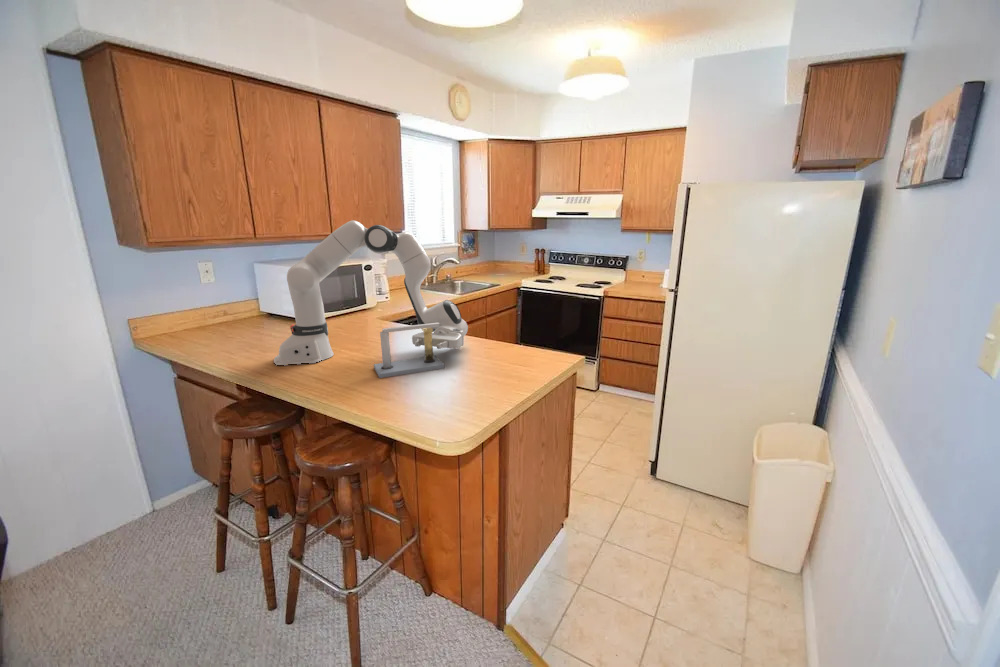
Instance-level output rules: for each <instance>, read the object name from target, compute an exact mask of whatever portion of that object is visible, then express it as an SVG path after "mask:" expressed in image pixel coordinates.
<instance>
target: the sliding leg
mask: <svg viewBox="0 0 1000 667" xmlns="http://www.w3.org/2000/svg"><path fill="white" fill-rule="evenodd" d="M421 330H422V332H424V345H425V346H424V345H423V346H424V357H425V359H426V360H432V359H433V356H434V350H433V349H434V348H433V347H434V346H432V333H434V332H433V329H432V328H422V329H421Z"/></svg>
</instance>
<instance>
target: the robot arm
mask: <svg viewBox="0 0 1000 667" xmlns="http://www.w3.org/2000/svg"><path fill="white" fill-rule="evenodd" d="M364 247H365V248H366V247H367V248H368V249H369V250H370V251H371V252H373V253H375V254H378V255H385V254H388V253H389V252H391V253H393V254H395V256H396V257H397V258H398V260H399V263H400V264H401V265H402V268H403V271H404V280H403V283H404V287H405V289H406V293H407V296H408V298H409V301H410V303H411V305H412V308H413V311H414V313H415V317H416V320H417V325H421V324H430V323H439V324H440V326H439V327H431V328H432V329H433V332H432V346H433V347H436V349H438V350H441V349H460V348H461V347H463V346H464V342H465V341H464V337H465V336H466V335H467V333H468V330H469V326H468V323H467V321H465V320H464V319H463V318H462V314H461V311H460V308H459V307H458V305H457V304H456V303H455V302H453V301H451V300H448V299H445V300H443V301H441V302H438V303H436V304H435V305H433V306H431V307H427V305H426V302H425V300H424V298H423V295H422V292H421V285H422V283H423V282H424V280H425V279H426V278H427V276H428V275H429V273H430V271H431V266H432V264H431V260H430V257H429V256H428V254H427V252H426V250H425V249H424V247H423V246H422V244H421V242H420V241H419V240H418V238H417V237H416V236H415V234H413V232H410V231H402V232H400V233H396V232H394V231H393V230H391V229H390V228H388V227H387V226H384V225H382V224H373V225H371V226H370V227H369V228H367V227H365V226H364V224H362V223H361V222H359V221H357V220H349V221H347V222H345V223H344V224H342V225H341V226H339V227H337V228H336V229H335V230H334V231H332V233H330V234H329V235H328V236H327V237H325V239H323V240H322V241H321V242H319V244H317V245H316V246H315V247H314V248H313V249H312V250H310V251H309V252H308V253H307V254H306V255H305V256H303V258H302V259H301V260H299V261H298V262H297V263H295V264H293V265H292V266H291V267H290V268H289V269H288V271H287V273H286V281H287V285H288V290H289V293H290V299H291V301H292V305H293V311H294V318H295V324H294V323H293V324H290V326H289V328H290V331H291V332H290V333H291V335H290V336H289V337H288V338H286V339H285V340H284V341H283V342H282V343H281V344H280V346H279V349H278V355H276V356H275V357H274V358H273V363H275V364H276V365H275V364H274V365H275V366H277V365H284V366H288V365H287V364H297V365H302V364H301V363H309V364H317V363H316V362H318V363H320V362H322V361H324V360H327V359H329V358H331V357H333V356H334V354H335V353H334V352H333V349H332V347H331V344H330V339H329V329H328V327H329V326H328V323H327V321H326V315H325V306H324V301H323V297H322V293H321V292H322V291H321V287H320V286H321V285H320V283H321V282H322V281H323V280H325V278H327V277H328V276H329V275H330V274H331V273H332V272H334V271H335V270H336V269H338V268H339V267H340V266H341V265H342V264H343V263H345V262H346V261H347V260H348V259H350V258H351V257H352V256H353V255H354V254H355V253H356V252H357V251H359V250H360V249H361V248H364ZM411 340H412V341H411V342H412V344H413V345H414V346H415V347H418V348H420V347H421V346H424V347H425V345H424V332H423V331H422V332H417V333H416V334H415V333H414V335H412V336H411ZM321 360H322V361H321ZM319 361H320V362H319Z"/></svg>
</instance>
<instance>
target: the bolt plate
mask: <svg viewBox="0 0 1000 667" xmlns="http://www.w3.org/2000/svg"><path fill="white" fill-rule="evenodd" d="M439 326H440V324H439V323H430V324H421V325H418V324H412V325H411V324H410V325H405V326H404V325H403V326H402V325H401V326H395V327H385V328H382V331H380V332H379V334H380V335H379V336H380V346H381V358H382V362H381V363H374V364H373V368H374V371H375V373H376V375H377V376H378V379H381V378H383V379H384V378H391V377H395V376H401V375H402V376H403V375H409V374H414V373H415V374H416V373H421V372H428V371H433V370H440V369H441V370H442V369H445V364H444V362H443V361H441V360H440V359H439V357H437V356H436V355H433V359H432V360H426V359H425V356H423V357H422V356H421V357H415V358H410V359H409V358H408V359H402V360H401V359H400V360H395V361H392V356H391V344H390V342H391V341H390V336H389V335H390V334H389V333H394V332H403V331H410V330H411V331H412V330H422V328H431V327H439Z"/></svg>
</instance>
